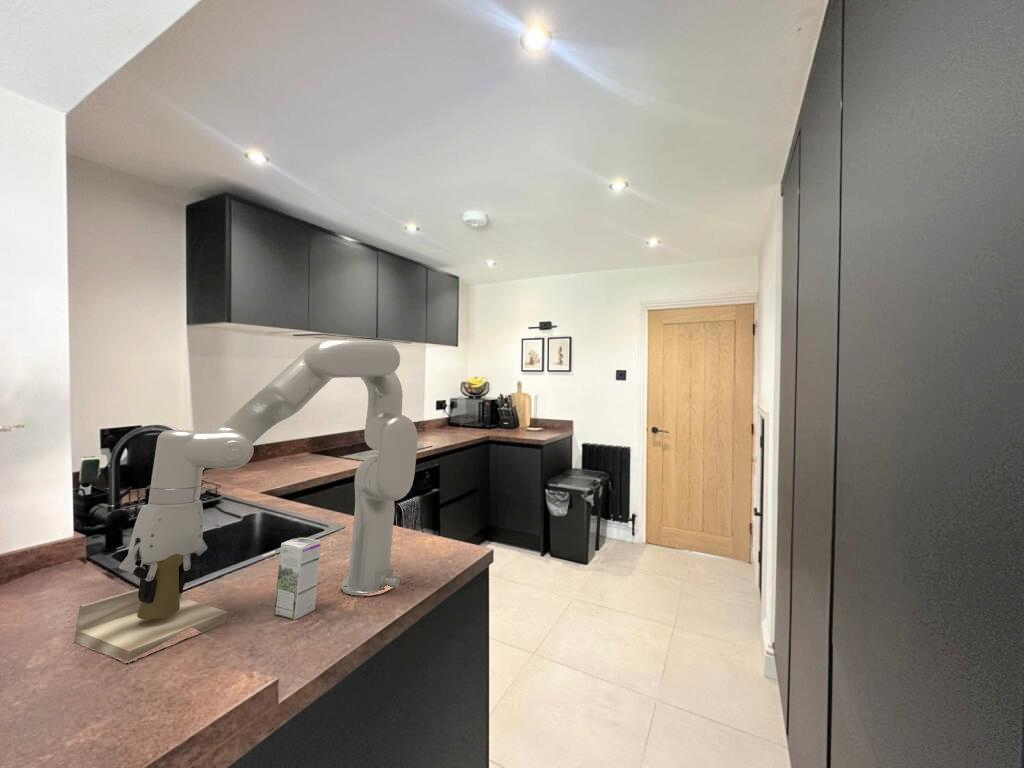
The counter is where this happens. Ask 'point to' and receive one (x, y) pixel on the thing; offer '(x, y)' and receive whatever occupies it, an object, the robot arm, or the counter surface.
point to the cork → (164, 590)
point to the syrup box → (297, 577)
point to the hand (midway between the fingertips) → (161, 595)
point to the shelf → (138, 624)
